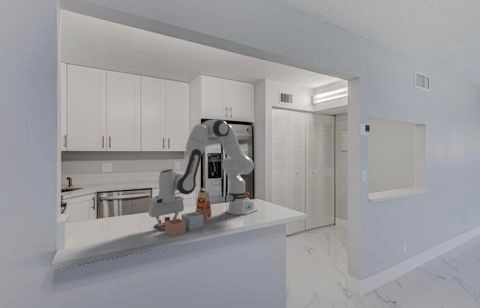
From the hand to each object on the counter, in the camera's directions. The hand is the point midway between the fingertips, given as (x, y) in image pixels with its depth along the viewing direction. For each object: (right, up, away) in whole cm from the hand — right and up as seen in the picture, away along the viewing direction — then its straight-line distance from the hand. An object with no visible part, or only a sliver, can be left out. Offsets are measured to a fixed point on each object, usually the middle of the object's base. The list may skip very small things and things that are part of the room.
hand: (167, 221), depth 137 cm
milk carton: (+18, -3, +19) cm, 26 cm away
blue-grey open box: (+14, -3, +1) cm, 15 cm away
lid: (0, -3, 0) cm, 3 cm away
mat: (0, -3, 0) cm, 3 cm away
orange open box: (+7, -3, -9) cm, 12 cm away
